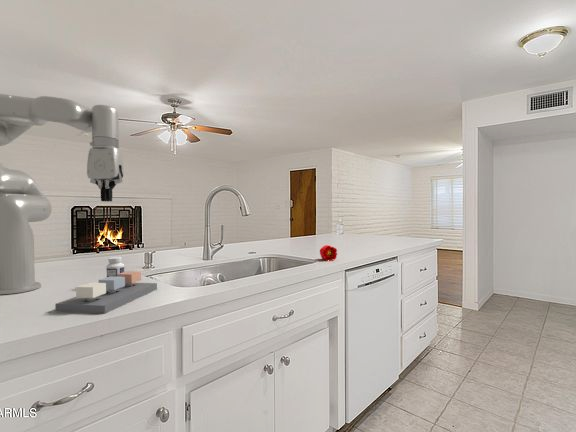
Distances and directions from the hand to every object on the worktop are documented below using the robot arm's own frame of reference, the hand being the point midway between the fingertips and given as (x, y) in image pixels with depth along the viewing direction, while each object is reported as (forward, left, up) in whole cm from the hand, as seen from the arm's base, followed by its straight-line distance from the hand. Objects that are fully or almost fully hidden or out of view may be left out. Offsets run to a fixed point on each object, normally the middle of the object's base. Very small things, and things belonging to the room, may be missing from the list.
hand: (106, 201), depth 102 cm
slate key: (+9, -10, -28) cm, 31 cm away
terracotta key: (+9, -2, -28) cm, 29 cm away
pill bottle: (-1, +5, -29) cm, 30 cm away
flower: (+71, +68, -29) cm, 103 cm away
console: (+9, -10, -29) cm, 32 cm away
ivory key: (+9, -18, -28) cm, 34 cm away
